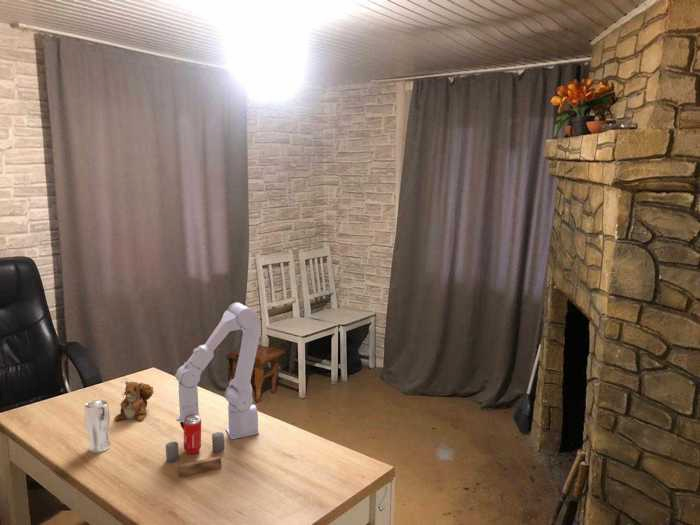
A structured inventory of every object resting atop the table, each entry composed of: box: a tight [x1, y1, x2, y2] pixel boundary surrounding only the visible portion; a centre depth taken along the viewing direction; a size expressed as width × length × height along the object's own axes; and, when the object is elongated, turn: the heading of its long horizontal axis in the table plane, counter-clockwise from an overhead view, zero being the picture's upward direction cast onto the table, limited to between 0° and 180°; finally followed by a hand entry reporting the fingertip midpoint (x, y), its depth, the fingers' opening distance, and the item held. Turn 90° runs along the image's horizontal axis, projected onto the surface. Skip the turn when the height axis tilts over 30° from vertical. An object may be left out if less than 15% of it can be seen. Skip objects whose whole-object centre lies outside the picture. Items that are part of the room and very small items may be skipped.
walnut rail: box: [177, 455, 222, 478], centre depth 160 cm, size 12×2×3 cm, turn 116°
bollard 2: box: [211, 431, 225, 453], centre depth 172 cm, size 4×4×5 cm
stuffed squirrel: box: [114, 380, 155, 422], centre depth 196 cm, size 10×14×13 cm
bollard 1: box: [165, 441, 180, 464], centre depth 166 cm, size 4×4×5 cm
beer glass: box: [84, 399, 111, 454], centre depth 172 cm, size 7×7×15 cm
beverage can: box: [183, 414, 202, 455], centre depth 169 cm, size 5×5×12 cm
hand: (190, 442), depth 174 cm, fingers closed, pressing on beverage can
